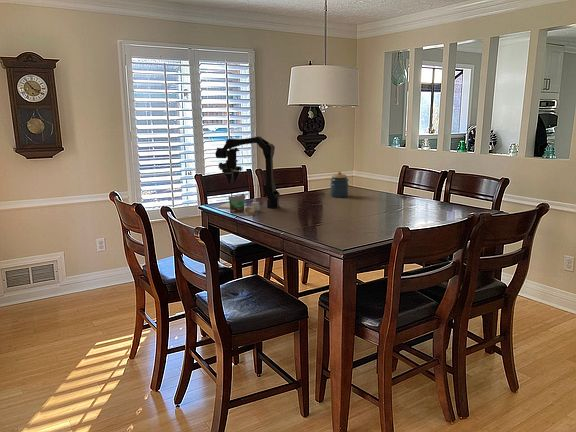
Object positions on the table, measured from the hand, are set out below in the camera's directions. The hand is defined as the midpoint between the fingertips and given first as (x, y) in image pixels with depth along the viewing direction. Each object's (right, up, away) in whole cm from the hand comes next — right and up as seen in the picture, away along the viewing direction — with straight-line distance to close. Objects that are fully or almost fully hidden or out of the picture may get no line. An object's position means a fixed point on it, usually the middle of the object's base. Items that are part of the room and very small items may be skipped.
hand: (232, 182), depth 299 cm
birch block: (+13, -20, -25) cm, 35 cm away
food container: (+7, -19, -18) cm, 27 cm away
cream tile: (0, -15, -1) cm, 15 cm away
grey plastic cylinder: (+16, -18, -15) cm, 28 cm away
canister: (+72, -7, +33) cm, 80 cm away
